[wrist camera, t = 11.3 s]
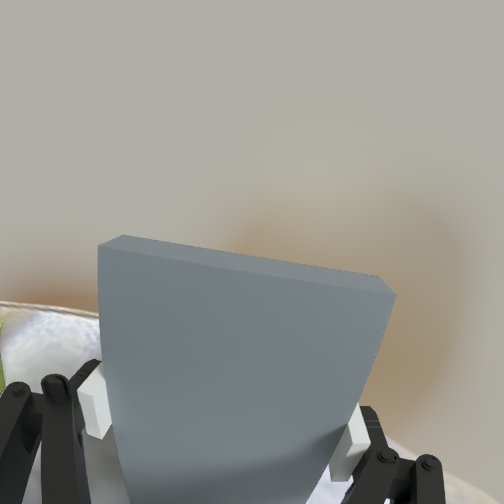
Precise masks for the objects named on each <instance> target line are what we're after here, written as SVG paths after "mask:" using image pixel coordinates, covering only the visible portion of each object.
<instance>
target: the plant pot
mask: <svg viewBox="0 0 504 504" xmlns="http://www.w3.org/2000/svg"><path fill="white" fill-rule="evenodd" d="M1 328H2V317H1V315H0V330H1ZM4 388H5V381H4V375H3V369H2V362H1V354H0V393H1V392H2V391H3V390H4Z"/></svg>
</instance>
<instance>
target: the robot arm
mask: <svg viewBox="0 0 504 504" xmlns="http://www.w3.org/2000/svg"><path fill="white" fill-rule="evenodd" d="M41 386H42V390H43V394H39V393H33V392H31V390H30V387H29V386H28V385H27V384H26V383H24V382H13V383H11V384H9V385H8V386H7V387H6V389H5V391H4V392H3V394H2V396H1V397H0V504H22V501H23V497H24V493H25V489H26V486H27V482H28V479H29V475H30V472H31V469H32V466H33V462H34V459H35V456H36V453H37V450H38V447H39V444H40V441H41V489H42V504H91V499H90V493H89V487H88V481H87V474H86V466H85V457H84V447H83V436H82V433H81V431H82V430H83V428H84V427H86V431H87V434H89V435H92V436H94V437H97V438H99V439H103V437H104V435H105V434H106V432H107V430H108V429H109V427H110V426H111V424H112V421H111V415H110V409H109V403H108V396H107V389H106V382H105V377H104V369H103V361H99V360H96V359H92V360H90V361H88V362H86V363H85V364H84V365H83V366H82V367H81V368H80V369H79V370H78V371H77V372H76V374H74V376H73V377H72V378H71V379H70V380H69V381H68V379H67V378H66V377H65V376H63V375H60V374H50V375H47V376H45V377H44V378H43V379H42V381H41ZM328 463H329V470H330V477H331V482H343V481H348V480H349V478H350V477H351V475H352V476H353V483H352V484H351V486H350V487H349V489H348V490H347V492H346V493H345V497H344V499H343V500H342V502H341V504H384V502H385V500H386V498H388V499H390V504H446V501H445V490H444V480H443V471H442V465H441V462H440V461H439V460H438V459H437V458H436V457H435V456H433V455H429V454H424V455H421V456H419V457H418V458H417V460H416V461H414V460H408V459H403V458H400V457H399V455H398V453H397V452H396V451H395V450H393V449H391V448H389V447H388V444H387V441H386V439H385V436H384V433H383V430H382V428H381V425H380V422H379V419H378V417H377V414H376V412H375V411H374V410H373V409H372V408H371V407H370V406H359V404H358V403H357V405H356V408H355V410H354V412H353V414H352V417H351V419H350V421H349V423H348V424H347V426H346V428H345V430H344V432H343V435H342V437H341V439H340V441H339V443H338V445H337V447H336V449H335V451H334V453H333V455H332V457H331V458H330V460H329V462H328Z"/></svg>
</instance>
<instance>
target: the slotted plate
mask: <svg viewBox="0 0 504 504" xmlns="http://www.w3.org/2000/svg"><path fill="white" fill-rule="evenodd" d="M395 298H396V294H395V293H394V292H393V291H392V290H391V289H390V288H389V286H388V285H387V284H386V283H384V281H382V279H381V278H379V276H374V275H368V274H361V273H355V272H349V271H342V270H336V269H329V268H324V267H317V266H311V265H305V264H299V263H292V262H286V261H280V260H274V259H268V258H262V257H255V256H249V255H243V254H237V253H231V252H224V251H218V250H212V249H206V248H200V247H194V246H187V245H182V244H176V243H170V242H163V241H158V240H151V239H145V238H139V237H133V236H127V235H122V236H120V237H117V238H115V239H112V240H110V241H108V242H105V243H103V244H101V245H99V246H98V305H99V324H100V338H101V350H102V360H103V369H104V377H105V382H106V389H107V396H108V403H109V409H110V415H111V421H112V428H113V433H114V438H115V443H116V448H117V452H118V457H119V461H120V465H121V469H122V473H123V477H124V481H125V484H126V488H127V491H128V495H129V498H130V502H131V504H305V503H306V502H307V500H308V498H309V497H310V495H311V493H312V492H313V490H314V488H315V487H316V485H317V483H318V481H319V480H320V478H321V476H322V474H323V472H324V471H325V469H326V467H327V465H328V462H329V460H330V458H331V457H332V455H333V453H334V451H335V449H336V447H337V445H338V443H339V441H340V439H341V437H342V435H343V432H344V430H345V428H346V426H347V424H348V423H349V421H350V419H351V417H352V414H353V412H354V410H355V408H356V405H357V403H358V401H359V398H360V396H361V394H362V391H363V389H364V386H365V384H366V381H367V379H368V376H369V374H370V371H371V369H372V366H373V363H374V360H375V358H376V355H377V353H378V350H379V347H380V344H381V341H382V338H383V336H384V333H385V329H386V326H387V323H388V320H389V317H390V314H391V311H392V307H393V304H394V301H395Z"/></svg>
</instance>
